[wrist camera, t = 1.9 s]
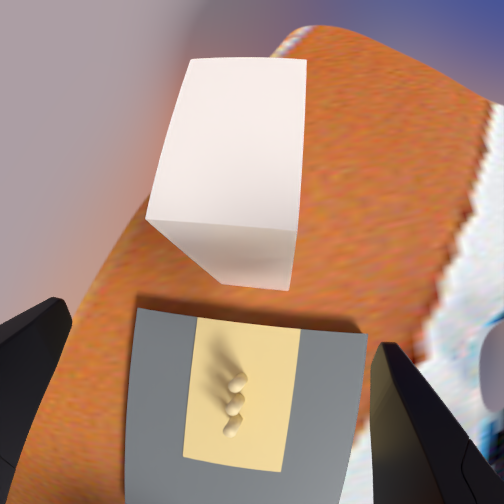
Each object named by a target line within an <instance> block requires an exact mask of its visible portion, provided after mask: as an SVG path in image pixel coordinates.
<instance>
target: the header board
mask: <svg viewBox="0 0 504 504" xmlns="http://www.w3.org/2000/svg"><path fill="white" fill-rule="evenodd" d="M367 339H368V334H359V333H344V332H330V331H317V330H305V329H294V328H284V327H274V326H264V325H255V324H247V323H238V322H230V321H222V320H215V319H207V318H200V317H193V316H186V315H180V314H173V313H167V312H160V311H154V310H148V309H142V308H138V309H137V316H136V323H135V331H134V339H133V348H132V357H131V366H130V377H129V389H128V402H127V418H126V439H125V504H339V500H340V496H341V492H342V488H343V484H344V480H345V476H346V471H347V467H348V462H349V457H350V453H351V448H352V443H353V437H354V432H355V427H356V421H357V415H358V409H359V403H360V396H361V389H362V382H363V374H364V366H365V358H366V349H367Z"/></svg>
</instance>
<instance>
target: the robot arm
mask: <svg viewBox="0 0 504 504" xmlns="http://www.w3.org/2000/svg"><path fill="white" fill-rule="evenodd" d="M71 327H72V318H71V315H70V313H69V310H68V308H67V305H66V303H65V301H64V300H63V299H60V298H56V297H51V298H49V299H47V300H45V301H43V302H42V303H40V304H38V305H36V306H34V307H32V308H30V309H28V310H27V311H25V312H23V313H21V314H19V315H17V316H15V317H14V318H12V319H10V320H8V321H6V322H4V323H3V324H1V325H0V504H6V500H7V496H8V493H9V489H10V486H11V483H12V480H13V476H14V473H15V470H16V469H15V468H16V466H17V463H18V461H19V458H20V455H21V452H22V449H23V446H24V444H25V441H26V438H27V435H28V433H29V430H30V428H31V425H32V422H33V420H34V417H35V415H36V413H37V410H38V408H39V405H40V403H41V401H42V398H43V396H44V394H45V391H46V389H47V387H48V384H49V382H50V380H51V378H52V376H53V373H54V371H55V369H56V367H57V364H58V362H59V359H60V356H61V353H62V351H63V348H64V345H65V343H66V340H67V337H68V335H69V332H70V330H71ZM370 434H371V449H372V468H373V500H374V504H504V481H503V480H502V479H501V478H500V476H499V475H498V474H497V473H496V472H495V470H494V469H493V468H492V467H491V466H490V464H489V463H488V462H487V460H486V459H485V458H484V456H483V455H482V454H481V452H480V451H479V450H478V448H477V447H476V446H475V444H474V443H473V441H472V440H471V439H469V436H468V435H467V433H466V432H465V431H464V429H463V428H462V427H461V425H460V424H459V422H458V421H457V420H456V418H455V417H454V416H453V414H452V413H451V412H450V410H449V409H448V408H447V406H446V405H445V404H444V402H443V401H442V400H441V399H440V397H439V396H438V395H437V393H436V392H435V391H434V389H433V388H432V387H431V386H430V384H429V383H428V382H427V380H426V379H425V378H424V377H423V375H422V374H421V373H420V371H419V370H418V369H417V368H416V366H415V365H414V364H413V363H412V361H411V360H410V359H409V358H408V356H407V355H406V354H405V353H404V351H403V350H402V349H401V348H400V346H399V345H398V344H397V343H395V342H381V343H380V345H379V346H378V349H377V351H376V354H375V356H374V359H373V361H372V364H371V386H370Z"/></svg>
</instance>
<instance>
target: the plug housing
mask: <svg viewBox="0 0 504 504" xmlns="http://www.w3.org/2000/svg"><path fill="white" fill-rule="evenodd" d="M306 61H307V60H303V59H288V58H261V57H260V58H259V57H252V58H251V57H234V58H232V57H230V58H205V59H191V61H190V63H189V66H188V69H187V72H186V75H185V78H184V80H183V83H182V87H181V89H180V92H179V95H178V99H177V102H176V105H175V108H174V111H173V114H172V118H171V121H170V124H169V128H168V131H167V135H166V138H165V141H164V145H163V149H162V152H161V156H160V160H159V164H158V168H157V171H156V175H155V180H154V183H153V187H152V191H151V195H150V200H149V204H148V208H147V213H146V217H145V219H146V220H147V221H148V222H149V223H150V224H151V225H152V226H154V227H155V228H156V229H157V230H158V231H159V232H160V233H162V234H163V235H164V236H165V237H166V238H167V239H169V240H170V241H171V242H172V243H173V244H174V245H176V246H177V247H178V248H179V249H180V250H181V251H183V252H184V253H185V254H186V255H187V256H189V257H190V258H191V259H192V260H193V261H194V262H196V263H197V264H198V265H199V266H200V267H202V268H203V269H204V270H205V271H206V272H208V273H209V274H210V275H211V276H212V277H214V278H215V279H216V280H217V281H218V282H220V283H221V284H226V285H235V286H244V287H253V288H263V289H273V290H283V291H289V286H290V279H291V272H292V266H293V259H294V252H295V245H296V237H297V230H298V217H299V203H300V189H301V174H302V157H303V139H304V119H305V94H306Z"/></svg>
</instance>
